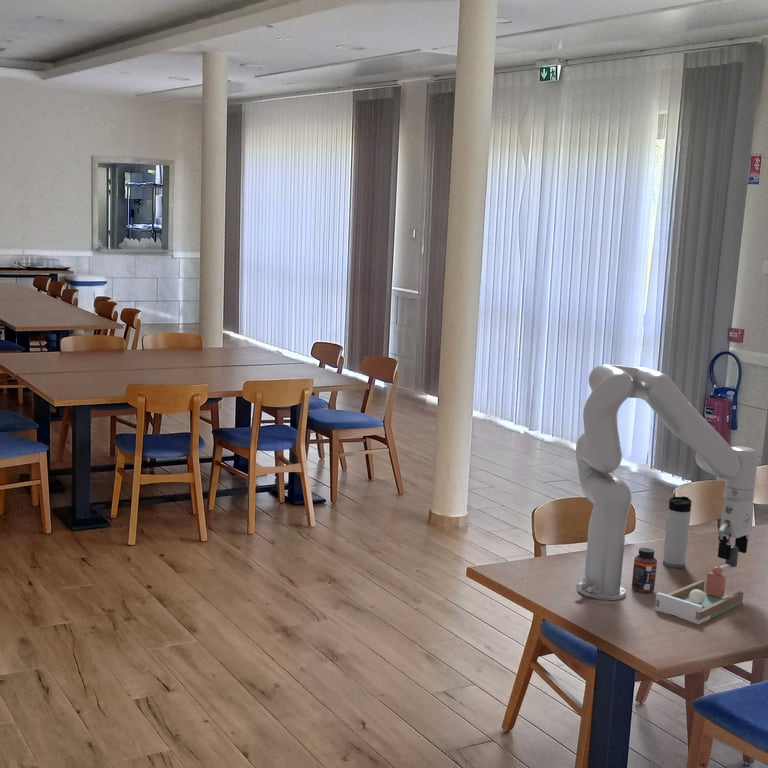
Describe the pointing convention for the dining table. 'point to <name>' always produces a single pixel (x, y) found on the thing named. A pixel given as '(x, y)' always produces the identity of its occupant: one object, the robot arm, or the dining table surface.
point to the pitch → (683, 608)
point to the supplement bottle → (644, 571)
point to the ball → (697, 596)
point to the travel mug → (677, 532)
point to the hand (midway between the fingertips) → (732, 555)
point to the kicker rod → (716, 580)
